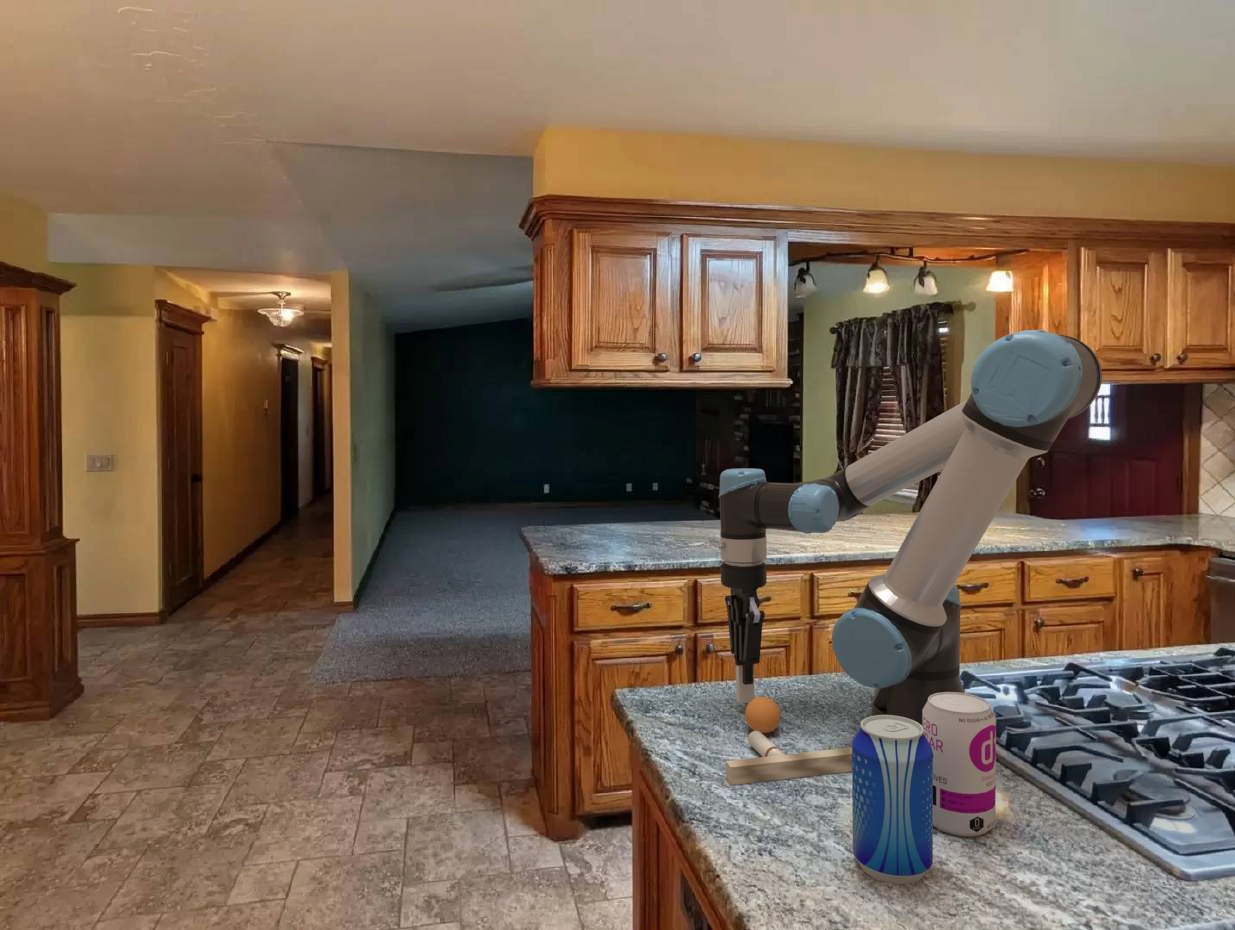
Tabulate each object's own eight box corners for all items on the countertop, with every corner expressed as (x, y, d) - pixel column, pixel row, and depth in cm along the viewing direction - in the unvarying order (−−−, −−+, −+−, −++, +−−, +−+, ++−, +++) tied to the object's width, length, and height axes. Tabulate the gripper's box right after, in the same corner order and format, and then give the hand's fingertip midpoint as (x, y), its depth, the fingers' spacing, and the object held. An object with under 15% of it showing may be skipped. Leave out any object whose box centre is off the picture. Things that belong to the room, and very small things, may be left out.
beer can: (939, 891, 86) (939, 743, 85) (856, 884, 88) (855, 739, 87) (925, 849, 95) (925, 713, 93) (850, 843, 96) (849, 710, 95)
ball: (791, 705, 128) (781, 722, 132) (761, 683, 130) (753, 701, 134) (773, 729, 125) (764, 746, 129) (743, 707, 127) (735, 724, 131)
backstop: (873, 762, 118) (873, 745, 118) (880, 767, 116) (880, 750, 116) (726, 778, 114) (725, 761, 114) (730, 785, 112) (730, 767, 112)
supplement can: (1008, 824, 100) (1009, 703, 99) (968, 846, 95) (969, 719, 94) (948, 799, 106) (949, 685, 105) (908, 818, 102) (908, 700, 101)
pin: (745, 735, 124) (770, 759, 115) (759, 727, 124) (785, 750, 116) (751, 749, 124) (777, 774, 115) (765, 741, 125) (792, 765, 116)
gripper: (709, 556, 142) (712, 689, 144) (734, 570, 129) (736, 716, 131) (751, 553, 144) (753, 686, 145) (779, 567, 131) (781, 712, 133)
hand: (745, 700), depth 138 cm, fingers closed
